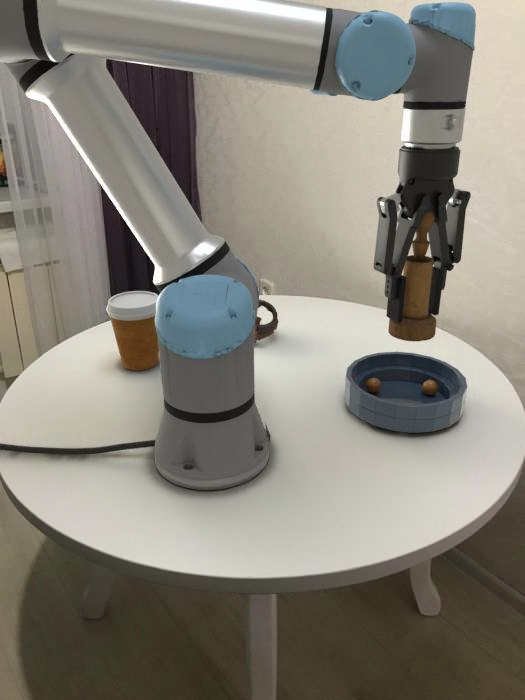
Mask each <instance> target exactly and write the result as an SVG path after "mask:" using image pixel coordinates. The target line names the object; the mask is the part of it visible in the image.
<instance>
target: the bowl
mask: <svg viewBox="0 0 525 700" xmlns="http://www.w3.org/2000/svg"><path fill="white" fill-rule="evenodd" d="M370 378H377V379H379V380H380V382H381V389H380V390H379V391H378V392H376V393H371V392H369V391H368V390H367V388H366V382H367V381H368V379H370ZM427 380H433V381H435V382H436V383H437V385H438V390H437V392H436V393H435V394H433V395H427V394H425V393H424V392H423V390H422V385H423V383H424V382H425V381H427ZM344 386H345V387H344V402H345V404H346V406H347V408H348V410H349V411H350V412H351V413H352V414H353V415H355V416H356V417H357V418H358V419H360V420H362V421H364V422H366V423H367V424H368V423H369V424H370V425H372V426H374V427H379V428H382V429H385V430H389V431H392V432H400V433H412V434H415V433H430V432H435V431H439V430H443V429H446V428H449V427H451V426H453V425H454V424H456V423H458V422H459V420H460V419H461V417H462V415H463V413H464V410H465V405H466V397H467V393H468V383H467V378H466V376H465V375H464V374H463V373H462V372H461V371H460V370H459V369H458V368H457V367H455V366H453V365H451V364H450V363H448V362H446V361H444V360H441V359H439V358H436V357H434V356H428V355H424V354H419V353H415V352H408V351H407V352H406V351H405V352H404V351H385V352H384V351H383V352H376V353H371V354H366V355H364V356H362V357H359V358H358V359H356V360H354V361H353V362H351V364H350V365H349V366H347V367H346V373H345V385H344ZM407 403H411V404H407Z"/></svg>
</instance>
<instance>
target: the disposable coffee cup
mask: <svg viewBox="0 0 525 700" xmlns="http://www.w3.org/2000/svg"><path fill="white" fill-rule="evenodd" d="M158 297H159V294H157V293H155V292H152V291H147V290H132V291H130V290H129V291H124V292H121V293H117V294H115V295H113V296H110V297H109V298H108V300H107V305H106V307H105V311H106V313H107V314H108V316H109V318H110V322H111V326H112V330H113V335H114V337H115V341H116V345H117V348H118V352H119V353H118V354H119V356H120V360H121V364H122V367H123V368H125V369H127V370H130V371H144V370H149V369H151V368H154V367H156V366H157V365H158V363H159V362H160V358H159V347H158V336H157V333H156V326H155V314H156V302H157V299H158Z"/></svg>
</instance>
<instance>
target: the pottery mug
mask: <svg viewBox="0 0 525 700" xmlns="http://www.w3.org/2000/svg"><path fill="white" fill-rule="evenodd" d="M261 307H263V308H264V309H266V310H267V311H268V312H270V313H271V314H272V319H271V321H269V322H268V323H265V324H261V321H262V320H263V319H262V317H260V316H257V319H256V328H255V338H254V344H255V343H257V341H261V340H264V339H266V338H268V337H270V336H271V335H273V334H274V333H275V331H276V330H277V328H278V325H279V319H278V315H279V314H278V312H277V309H276V308H275V306H274V305H273V304H272V303H270V302H269V301H267V300H262V299H260V298H259V306H258V309H260V308H261Z"/></svg>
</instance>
